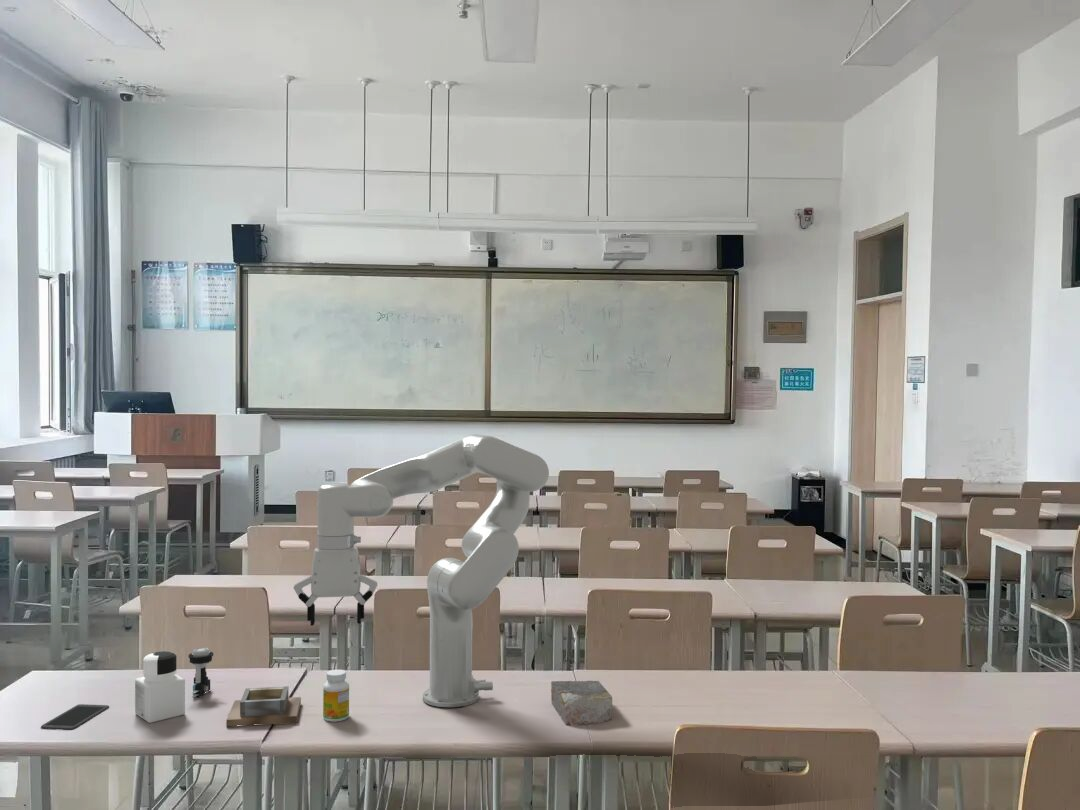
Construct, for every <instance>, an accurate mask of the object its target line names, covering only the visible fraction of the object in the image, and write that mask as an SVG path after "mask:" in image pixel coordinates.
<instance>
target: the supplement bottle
mask: <svg viewBox="0 0 1080 810" xmlns="http://www.w3.org/2000/svg"><path fill="white" fill-rule="evenodd" d="M346 679H347V672H346V671H345V670H344V669H332V670H329V671H327V672H326V682H325V683H323V686H322V687H323V688H322V692H323V694H322V700H323V703H322V704H323V706H322V710H323V711H322V717H323V719H324V720H325V721H327V722H332V723H334V722H336V723H337V721H338V722H344V721H345V720H347V719H348V718H349V716H350V684H349V682H348V680H346Z"/></svg>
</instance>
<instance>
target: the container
mask: <svg viewBox="0 0 1080 810" xmlns="http://www.w3.org/2000/svg"><path fill="white" fill-rule="evenodd" d="M142 663H143V664H142V665H143V673H142V674H143V676H141V677H136V678H135V680H134V683H135V684H134V685H135V686H134V693H135V694H134V698H135V699H134V713H135V715H137V716H138V717H139V718H141V719H143V720H145V721H146V722H147V723H150V724H152V723H156V722H160V721H163V720H168V719H173V718H176V717H179V716H184V715H185V713H186V680H185V678H183V677H181V676H179V674H177V655H176V654H175V653H174V652H171V651H166V650H165V651H156V652H152V653H149V654H147V655H146V656H144V658H143V661H142Z"/></svg>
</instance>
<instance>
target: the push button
mask: <svg viewBox="0 0 1080 810" xmlns="http://www.w3.org/2000/svg"><path fill="white" fill-rule="evenodd" d="M213 657H214V652H213V651H210V649H209V648H208V647H199V648H194V649H193V650H192V652H191V653H189V654H188V658H189V663H190V664H192V665H194V666H195V674H194V675H195V676H194V678H193V684H192V692H191V693H192V698H197V697H196V696H201V695H202V696H203V695H205V694H208V693H209V692H210V691H211V679H210V678H209V676H207V673H208V672H207V665H208V664H209V663H211V662H213V661H212V660H213ZM209 690H210V691H209ZM205 692H206V693H205ZM204 693H205V694H204ZM202 696H201V697H202Z"/></svg>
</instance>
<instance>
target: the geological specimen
mask: <svg viewBox="0 0 1080 810" xmlns="http://www.w3.org/2000/svg"><path fill="white" fill-rule="evenodd" d="M550 684H551V686H550V687H551V689H550V690H551V691H550V692H551V698H550V699H551V705H552V706H553V709H554V710H555V711H556V713H557V714H558V716H560V719H561V720H562V722H563V724H564V725H565V726H571V727H572V726H581V725H583V726H584V725H585V726H588V725H597V724H598V723H603V722H609V721H612V720H613V719H612V718H613V717H612V709H613V696H612V695H611V693H610V692H609V691H608V690H607V689H606V688H605V687H604V685H603V684H602V682H600V680H564V681H563V680H558V681H555V680H554V681H553V680H552V681H551V683H550Z"/></svg>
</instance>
